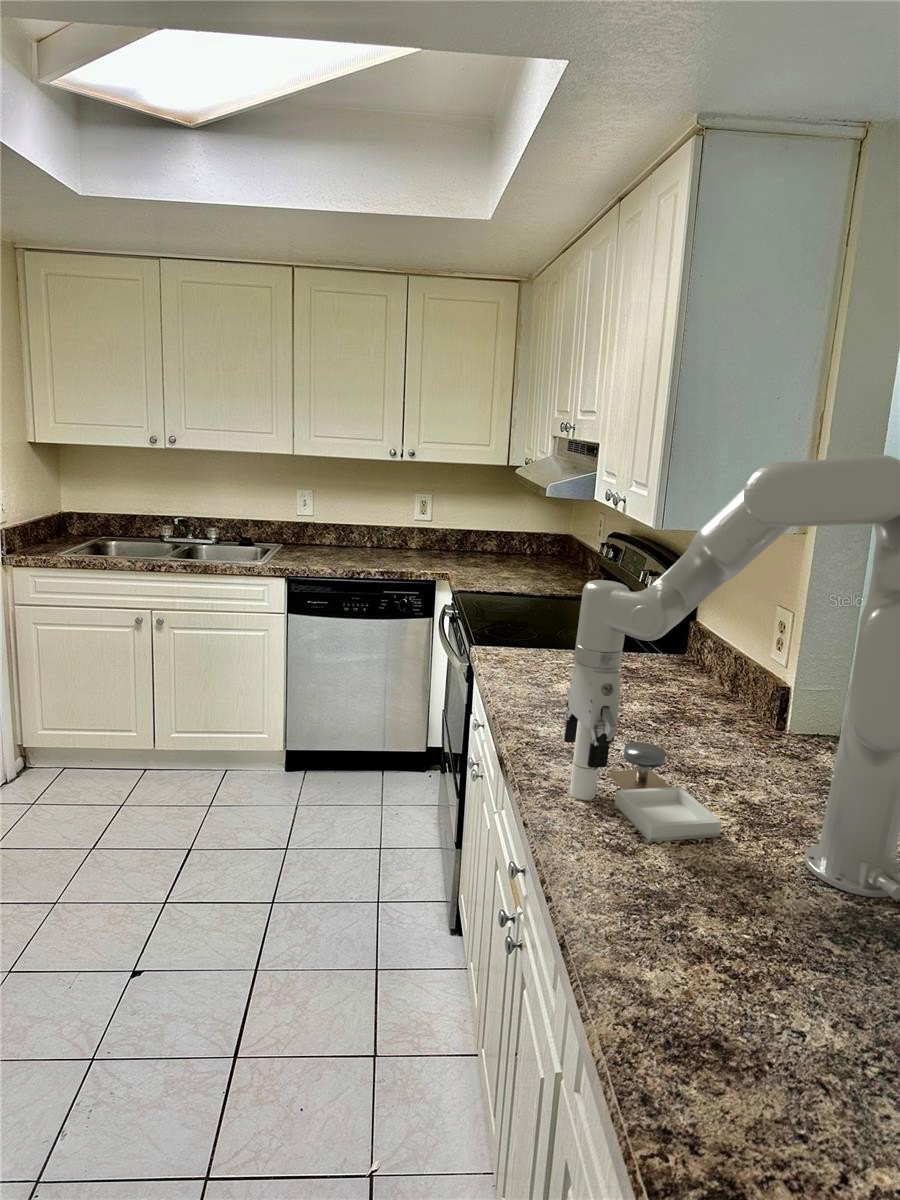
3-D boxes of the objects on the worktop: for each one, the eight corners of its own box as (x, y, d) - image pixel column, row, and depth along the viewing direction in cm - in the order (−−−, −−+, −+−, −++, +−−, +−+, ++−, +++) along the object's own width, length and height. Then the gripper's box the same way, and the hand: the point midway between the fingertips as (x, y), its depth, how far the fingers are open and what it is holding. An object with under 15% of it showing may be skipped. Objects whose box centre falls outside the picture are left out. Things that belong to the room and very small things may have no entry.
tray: (719, 836, 120) (721, 822, 119) (649, 841, 117) (651, 826, 116) (678, 800, 131) (680, 786, 131) (614, 804, 128) (616, 790, 128)
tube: (575, 800, 128) (585, 715, 125) (565, 789, 132) (574, 706, 129) (599, 799, 130) (609, 715, 126) (588, 787, 134) (598, 705, 130)
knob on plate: (672, 794, 133) (677, 759, 132) (630, 797, 131) (635, 761, 130) (649, 774, 141) (654, 740, 139) (609, 776, 139) (614, 741, 137)
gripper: (644, 674, 119) (628, 776, 122) (596, 641, 135) (584, 732, 139) (599, 674, 117) (584, 778, 121) (556, 640, 133) (545, 733, 137)
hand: (584, 753), depth 130 cm, fingers open, 9 cm apart
